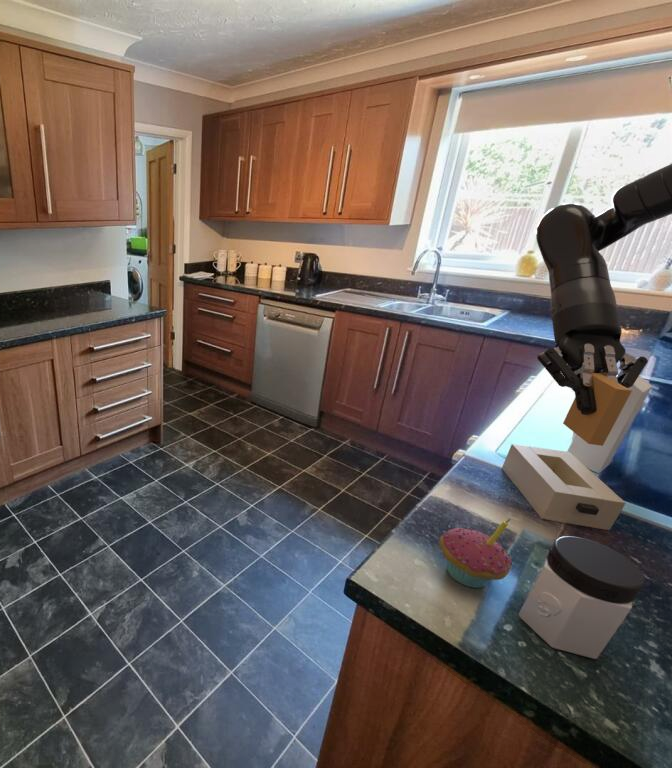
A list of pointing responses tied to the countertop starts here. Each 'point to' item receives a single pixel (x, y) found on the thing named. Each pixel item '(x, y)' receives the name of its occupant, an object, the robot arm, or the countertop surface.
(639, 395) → the milk
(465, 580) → the cupcake
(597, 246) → the robot arm
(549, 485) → the toaster
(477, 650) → the countertop surface
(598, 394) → the toast
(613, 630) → the jar
